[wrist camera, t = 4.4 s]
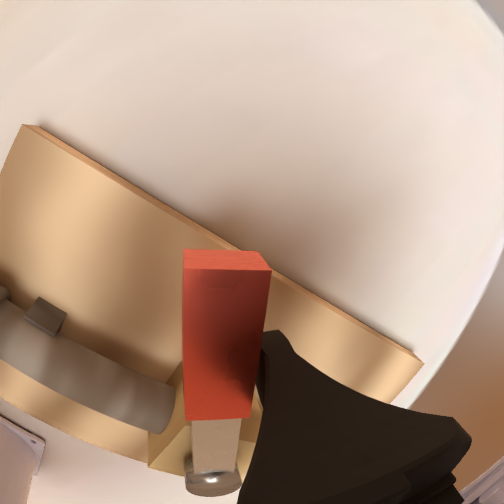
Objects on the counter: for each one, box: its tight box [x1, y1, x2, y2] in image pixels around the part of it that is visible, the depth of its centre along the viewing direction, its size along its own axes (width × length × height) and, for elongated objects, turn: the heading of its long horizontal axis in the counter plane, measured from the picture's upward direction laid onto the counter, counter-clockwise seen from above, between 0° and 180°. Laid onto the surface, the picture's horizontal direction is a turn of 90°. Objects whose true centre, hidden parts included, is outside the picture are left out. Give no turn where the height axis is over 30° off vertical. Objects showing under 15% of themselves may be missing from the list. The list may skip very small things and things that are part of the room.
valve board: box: [0, 124, 424, 483], centre depth 14 cm, size 28×16×6 cm, turn 55°
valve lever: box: [182, 249, 272, 497], centre depth 9 cm, size 11×2×1 cm, turn 174°
